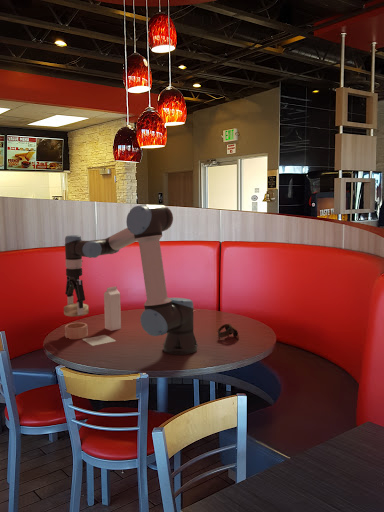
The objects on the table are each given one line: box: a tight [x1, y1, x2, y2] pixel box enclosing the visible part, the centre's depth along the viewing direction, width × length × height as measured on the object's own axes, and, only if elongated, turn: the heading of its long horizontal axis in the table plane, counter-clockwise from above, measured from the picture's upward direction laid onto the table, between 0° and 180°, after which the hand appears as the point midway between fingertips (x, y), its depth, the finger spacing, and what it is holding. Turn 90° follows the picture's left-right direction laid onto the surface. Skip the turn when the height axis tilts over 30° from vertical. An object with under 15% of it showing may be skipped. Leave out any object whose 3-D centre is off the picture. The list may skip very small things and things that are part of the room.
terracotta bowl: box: [64, 322, 89, 340], centre depth 229 cm, size 10×10×6 cm
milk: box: [103, 285, 122, 332], centre depth 240 cm, size 6×6×22 cm
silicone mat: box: [81, 334, 117, 347], centre depth 222 cm, size 12×12×1 cm
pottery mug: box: [217, 323, 240, 341], centre depth 225 cm, size 12×10×8 cm
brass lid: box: [63, 302, 90, 317], centre depth 228 cm, size 12×12×4 cm
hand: (75, 312), depth 227 cm, fingers closed on brass lid, 12 cm apart
